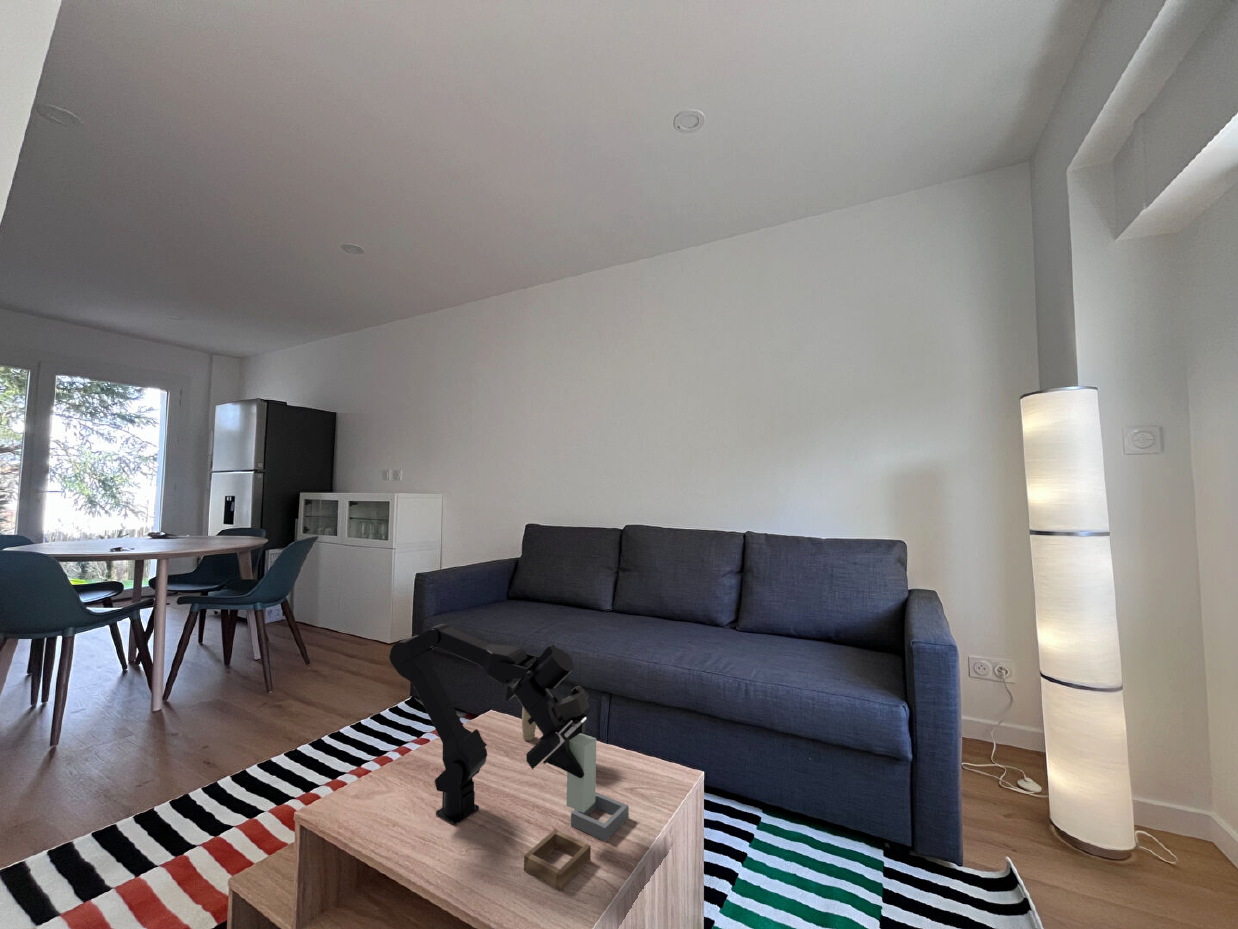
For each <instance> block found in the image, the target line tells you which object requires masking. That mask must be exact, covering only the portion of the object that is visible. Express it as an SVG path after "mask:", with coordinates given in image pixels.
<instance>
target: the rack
mask: <svg viewBox="0 0 1238 929" xmlns="http://www.w3.org/2000/svg"><path fill="white" fill-rule="evenodd" d="M591 847H592V846H591V845H590V844H588V843H586V842H584V841H581V840H579V839H577V838H576V837H573V836H571V835H569V834H566V833H565V832H563V831H561V830H558V829H556V828H555V829H553V830H552V831H551V832H549V833H548V834H547V835H546V836H545V837H543V839H541V840H540V841H539V842H538V843H536V844H535V845H534V847H532V848H531V849H530V850H529V851H528V852H526V853H525V854H524V855H523V871H524V872H526V873H528V874H530V875H531V876H533V877H535V878H537V879H538V880H539V881H542V882H544V883H546V884H548V885H549V886H551V887H553V888H554V889H556V890H558V891H560V892H562V890H563V889H564V888H565V887H566V886H567V885H568V884H570V882H571V881H572V880H573V879H574V878H575V877H576V876H577V875H578V873H580V872H581V871H582V870H583V868H585V866H586V865H587V864H588V863H590V862H591V860H592V859H591V857H592V856H591V853H592V852H591ZM555 849H557V850H560V851H561V852H563V853H565V854H567V855H569V856H571V858H569V860H568V861H567V862H565V864H564V865H563V866H561V867H560V868H558V867H557V866H555V865H553V864H551V863H550V862H547V861H545V860H544V859H545V858H546V857H547V856H548V855H550V853H552V852H553V850H555Z"/></svg>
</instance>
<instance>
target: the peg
mask: <svg viewBox="0 0 1238 929" xmlns="http://www.w3.org/2000/svg"><path fill="white" fill-rule="evenodd" d="M569 746H570V750H571V752H572V753H573V755H574V757H575V758H576V760H577V761H578V763H579V765H580V766H581V768H582V770H583V772H584V774H585V775H584V776H583V777H582V778H578V777H576V776H574V775H572V774H571V773H569V772H567V771H566V773H567V774H566V807H568V808H570V809H572V810H578V811H580V812H582V813H584V812H585V811H586V810H587V809H588V808H589V807H590V806H592V805H593V804H594V803H595V792H596V786H597V785H596V782H597V780H596V776H597V738H596V737H593V736H590V735H587V734H585V735H584V734H581V733H580V734H578V735H577V736H575V737H574V738H572V739H570V740H569Z"/></svg>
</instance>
